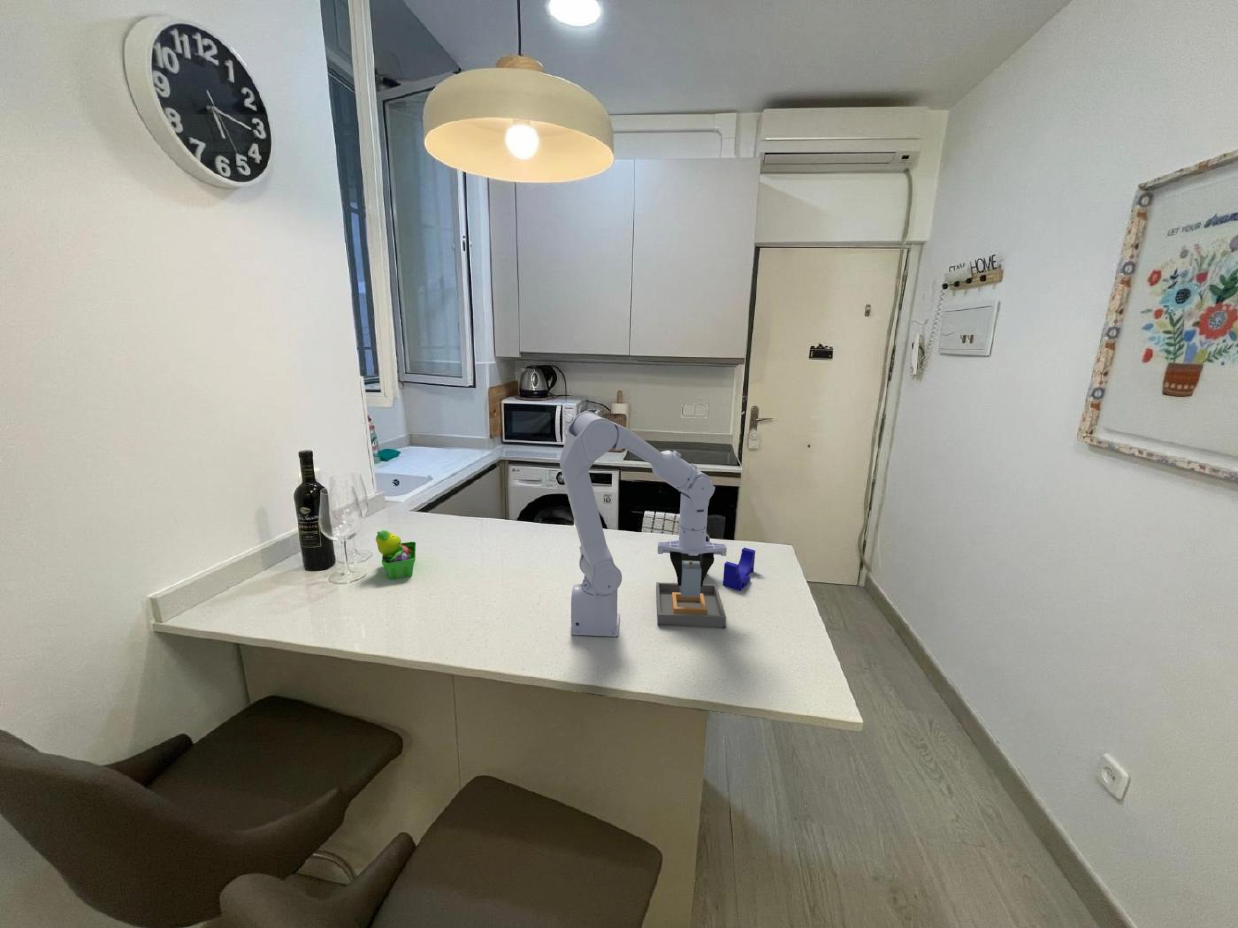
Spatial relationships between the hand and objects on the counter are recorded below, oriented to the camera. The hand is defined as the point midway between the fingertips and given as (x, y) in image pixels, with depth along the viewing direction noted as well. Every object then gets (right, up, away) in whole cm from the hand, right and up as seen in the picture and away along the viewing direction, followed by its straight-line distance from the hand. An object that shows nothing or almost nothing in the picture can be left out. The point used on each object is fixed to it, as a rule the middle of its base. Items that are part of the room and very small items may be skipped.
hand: (689, 583), depth 108 cm
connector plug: (0, -2, 0) cm, 2 cm away
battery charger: (+4, -2, +19) cm, 19 cm away
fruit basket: (-71, -1, +17) cm, 73 cm away
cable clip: (+15, -3, +16) cm, 22 cm away
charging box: (0, -6, +2) cm, 6 cm away
